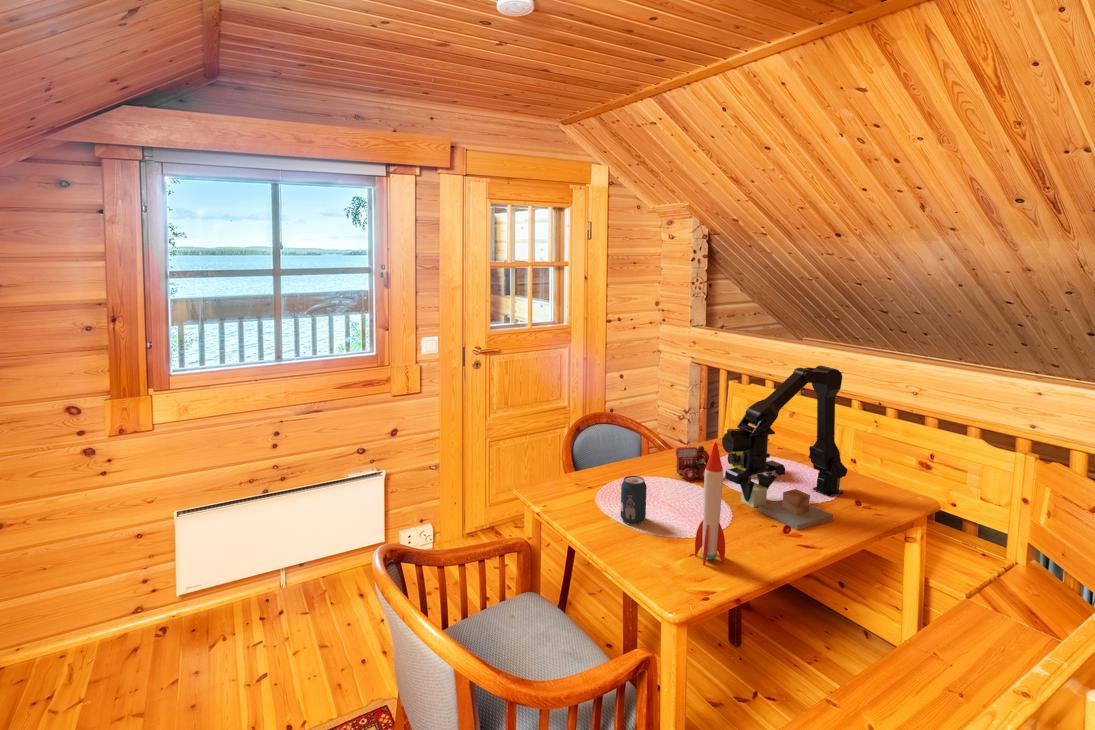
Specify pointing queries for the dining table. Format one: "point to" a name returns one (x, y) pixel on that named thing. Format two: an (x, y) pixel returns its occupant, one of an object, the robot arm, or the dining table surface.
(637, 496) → the soda can
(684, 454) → the toy fire truck
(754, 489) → the sage cube
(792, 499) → the walnut cube
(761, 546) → the dining table surface
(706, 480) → the toy rocket
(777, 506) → the base board
